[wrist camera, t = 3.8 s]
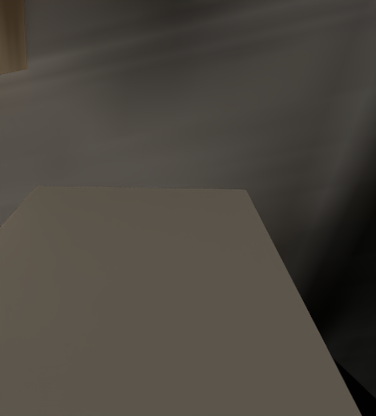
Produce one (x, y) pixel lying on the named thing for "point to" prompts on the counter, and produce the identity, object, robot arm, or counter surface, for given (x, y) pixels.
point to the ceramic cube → (154, 310)
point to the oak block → (12, 36)
